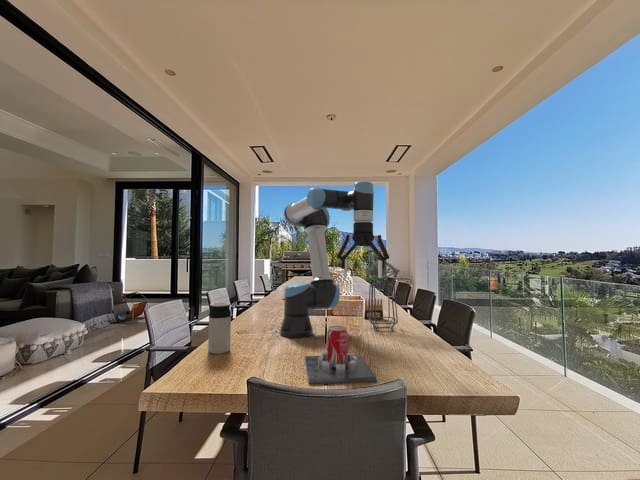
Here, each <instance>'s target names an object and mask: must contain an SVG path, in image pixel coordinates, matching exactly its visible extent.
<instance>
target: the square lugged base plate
mask: <svg viewBox="0 0 640 480" xmlns="http://www.w3.org/2000/svg"><path fill="white" fill-rule="evenodd" d="M304 364H305V371H306V377H307V384H308V385H322V384H323V385H325V384H326V385H327V384H330V385H331V384H351V383H353V384H355V383H356V384H357V383H377V376H376V374H375V373H374V371H373V369H371V367H370V365H369V364H368V363H367V362H366V360H365V359H364V357H363V356H362V355H361V354H353V353H350V352H348V364H347V365H346V366H345V363H336V368H332V363H331V362H327V359H326V352H324V353H321V354H319V355H304Z"/></svg>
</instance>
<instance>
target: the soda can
mask: <svg viewBox="0 0 640 480" xmlns="http://www.w3.org/2000/svg"><path fill="white" fill-rule="evenodd" d="M325 341H326V344H325V345H326V347H325V348H326V351H325V353H326V359H327V362H331V363H332V368H336V363H345V366H346V365H347V364H348V353H349V333H348V331H347V327H346V326H342V325H331V326H329V327H328V330H327V331H326V340H325Z"/></svg>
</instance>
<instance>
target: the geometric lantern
mask: <svg viewBox="0 0 640 480" xmlns="http://www.w3.org/2000/svg"><path fill="white" fill-rule="evenodd" d="M378 261H380V259H377V260H376V261H374V262H373V263H371V264H370V265H369V266H367V267H366V268H364V269H363V270H364V273H365V275H366V278H368V281H369V291H368V292H369V293H368V300H369V317H368V319H367V320H369V323H370V324H371V325H372V327H373V328H372V329H374V330H375V331H376V332H380V329H383V328H386V329H387V328H388V329H390V331H391V332H394V326H396V325H397V324H398V322H399V320H398V319H399V318H398V310H397V298H396V285H395V284H396V279H397V276H398V274H399V273H400V272H401V270H400V269H399V268H396V267H395V266H394V265H392V264H391V263H389V262H388V261H386V260H385V266H387V267H388V268H386V267H385V268H384V269H382V278H379V277H378V268H377V269H376V267H378ZM390 270H392V271H390ZM370 273H371V274H372V275H374V276H375V278H374V280H373V281H372V282H371V278H370ZM387 274H388V275H387ZM392 275H393V278H392V279H391V282H390V280H389V279H388V278H389V277H390V276H392ZM377 278H378V281H377V282H375V281H376V279H377ZM381 279H382V280H383V279H385V281H386V282H387V283H379V282H380V280H381ZM393 282H394V283H393ZM374 283H375V284H374ZM379 288H380V289H381V288H382V289H383V288H384V289H385V288H387V293H388V294H387V295H388V316H383V317H376V305H377V301H376V302H375V298H376V289H379ZM390 295H391V306H392V316H390V313H391V312H390V311H391V310H390V308H391V307H390ZM393 296H394V297H393ZM370 305H371V318H370ZM373 305H375V317H372V315H373ZM394 305H395V308H394ZM395 315H396V316H395ZM372 318H375V319H372ZM376 318H383V319H387V322H377V319H376ZM389 319H391V320H390V321H389ZM379 325H389V326H379Z"/></svg>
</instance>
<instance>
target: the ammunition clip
mask: <svg viewBox="0 0 640 480" xmlns="http://www.w3.org/2000/svg"><path fill="white" fill-rule="evenodd" d="M375 302H376V317H384V311H383V310H384V307H383V298H380V299H379V297H378V298H376V297H375ZM363 315H364V316H363V319H364V320H369V319H368V317H369V299H367V298H365V300H364V314H363ZM372 317H375V305H374V304H373V315H372ZM370 318H371V304H370ZM372 319H373V320H375V318H372ZM376 320H384V318H376Z"/></svg>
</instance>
